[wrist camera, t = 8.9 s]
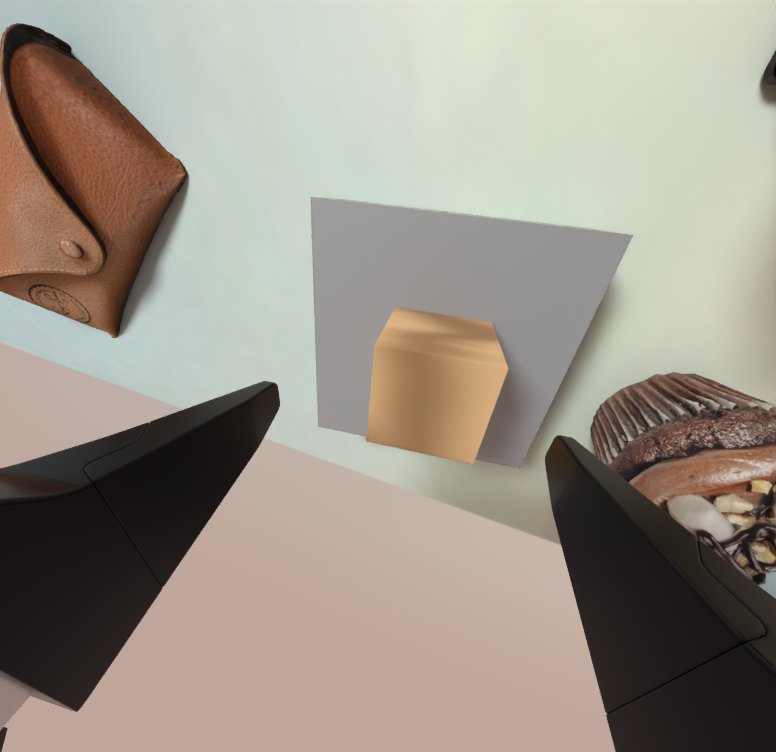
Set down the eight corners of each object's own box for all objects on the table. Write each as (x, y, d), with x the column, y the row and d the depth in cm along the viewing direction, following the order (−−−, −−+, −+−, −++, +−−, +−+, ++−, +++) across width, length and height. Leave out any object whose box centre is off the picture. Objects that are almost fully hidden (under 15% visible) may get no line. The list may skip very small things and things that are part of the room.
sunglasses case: (119, 347, 26) (-8, 346, 20) (97, 287, 27) (-25, 271, 22) (194, 165, 17) (14, 75, 12) (156, 95, 19) (-18, -14, 13)
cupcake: (611, 486, 24) (702, 644, 15) (551, 406, 21) (620, 541, 12) (768, 438, 19) (1020, 621, 11) (716, 329, 17) (996, 457, 8)
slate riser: (592, 229, 15) (633, 235, 12) (509, 428, 23) (519, 468, 19) (338, 199, 17) (310, 197, 13) (337, 395, 24) (318, 426, 21)
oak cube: (491, 322, 15) (508, 368, 10) (467, 401, 17) (473, 464, 13) (395, 306, 15) (374, 345, 11) (386, 385, 18) (366, 441, 14)
